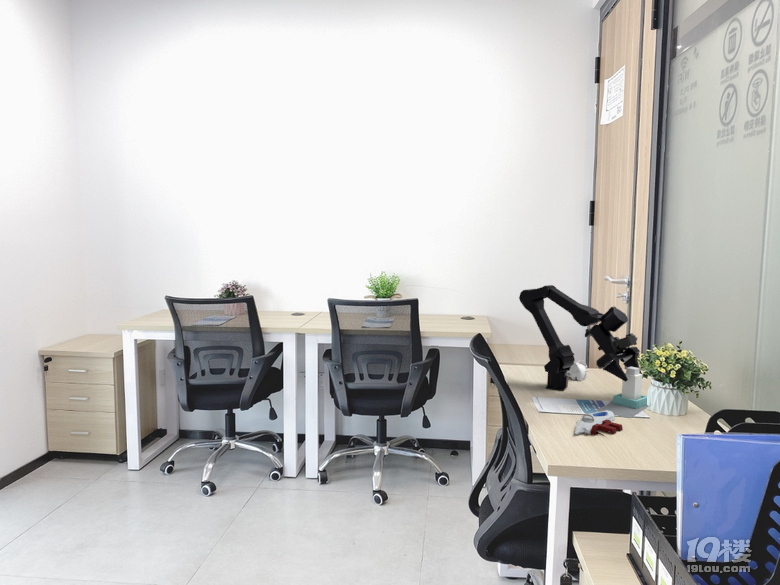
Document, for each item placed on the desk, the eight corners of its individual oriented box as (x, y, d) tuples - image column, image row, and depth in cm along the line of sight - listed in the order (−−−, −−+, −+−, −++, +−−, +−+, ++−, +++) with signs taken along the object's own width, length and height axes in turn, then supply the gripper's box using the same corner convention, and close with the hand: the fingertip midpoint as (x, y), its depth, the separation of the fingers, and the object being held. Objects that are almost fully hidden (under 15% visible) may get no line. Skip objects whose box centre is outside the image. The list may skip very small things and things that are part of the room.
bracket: (607, 418, 185) (591, 426, 178) (626, 423, 181) (610, 431, 174) (607, 427, 186) (590, 435, 179) (625, 432, 182) (609, 440, 175)
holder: (612, 402, 206) (613, 395, 206) (625, 398, 212) (626, 391, 211) (636, 408, 200) (636, 401, 200) (648, 404, 206) (649, 396, 205)
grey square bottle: (621, 403, 206) (623, 367, 205) (628, 400, 209) (630, 365, 208) (633, 406, 203) (635, 370, 201) (640, 404, 206) (642, 368, 204)
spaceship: (599, 416, 196) (600, 402, 196) (619, 421, 192) (620, 407, 191) (561, 433, 180) (562, 418, 179) (582, 439, 175) (583, 424, 175)
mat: (630, 421, 191) (630, 418, 191) (595, 413, 198) (595, 410, 198) (653, 406, 207) (653, 403, 207) (620, 399, 214) (620, 396, 214)
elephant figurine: (568, 375, 247) (569, 357, 246) (591, 379, 241) (592, 361, 240) (559, 378, 241) (560, 360, 241) (583, 383, 235) (584, 364, 234)
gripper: (606, 328, 200) (637, 369, 194) (636, 323, 213) (665, 360, 206) (583, 348, 207) (612, 388, 200) (613, 342, 219) (641, 379, 212)
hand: (634, 378), depth 205 cm, fingers open, 9 cm apart
